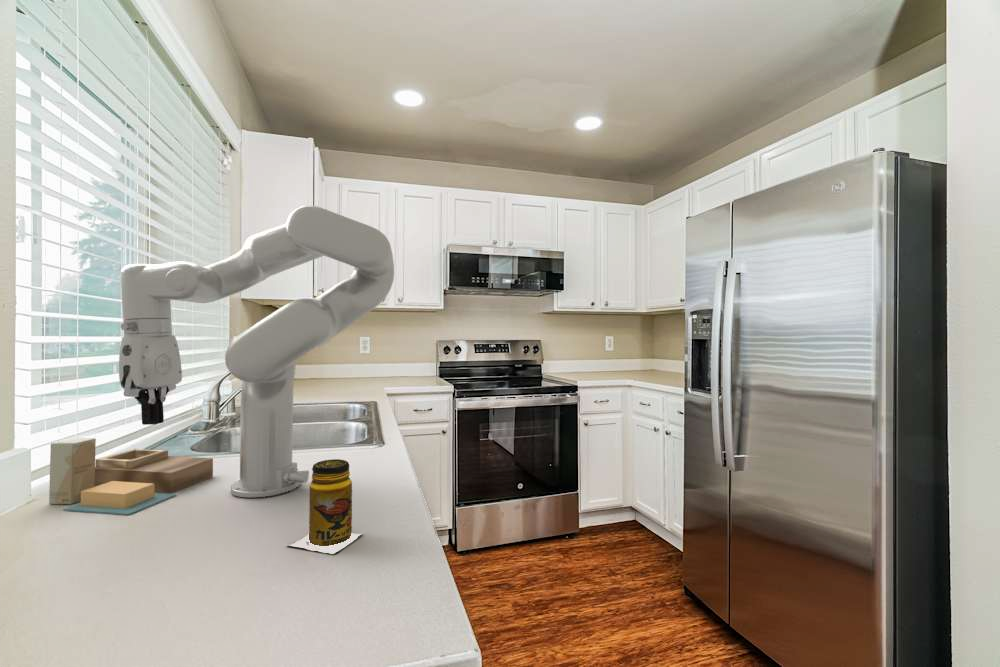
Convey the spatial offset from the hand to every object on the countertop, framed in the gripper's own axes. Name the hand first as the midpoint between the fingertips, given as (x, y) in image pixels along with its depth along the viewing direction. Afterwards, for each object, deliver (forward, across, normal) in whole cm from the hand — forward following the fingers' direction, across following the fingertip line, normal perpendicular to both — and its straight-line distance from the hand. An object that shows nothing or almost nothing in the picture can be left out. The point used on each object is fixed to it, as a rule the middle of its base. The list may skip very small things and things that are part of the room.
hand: (153, 423), depth 93 cm
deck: (+13, +6, +6) cm, 16 cm away
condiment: (+16, -15, -42) cm, 48 cm away
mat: (+13, -6, +2) cm, 15 cm away
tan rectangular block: (+11, -5, +2) cm, 12 cm away
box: (+13, -5, +12) cm, 19 cm away
